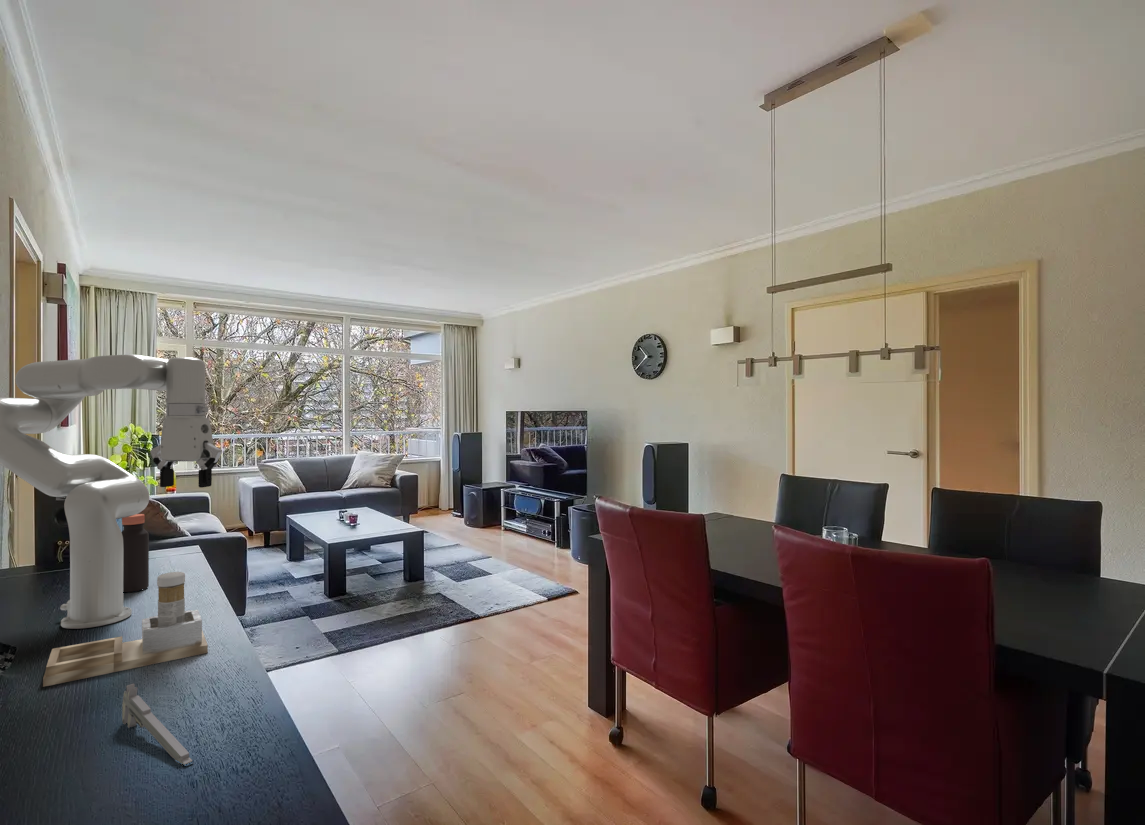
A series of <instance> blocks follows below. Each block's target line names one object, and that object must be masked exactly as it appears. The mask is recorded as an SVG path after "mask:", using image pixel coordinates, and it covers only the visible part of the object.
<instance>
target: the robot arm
mask: <svg viewBox="0 0 1145 825" xmlns="http://www.w3.org/2000/svg"><path fill="white" fill-rule="evenodd" d="M14 381H15V384H16V386H17V388H18V390H20V391H21V392H22V393H23V394H25V395H27V396H28V397H32V398H22V397H0V465H1V466H2V467H4V468H6V469H7V470H9V471H10V472H11V473H13V474H14V475H16V476H17V477H19V478H20V479H22V480H23V481H24V482H26V483H28V484H29V485H30V486H32V487H34V488H35V489H37V490H38V491H39V492H41V493H43V494H45V495H47V496H49V497H56V498H60V497H61V498H62V497H65V500H64V506H63V507H64V514H65V518H66V522H67V526H68V533H69V562H70V563H69V599H68V600H67V601H66V603H63V604H61V605H60V606H59V607H60V610H61V611H67V616H65V617H63V618H62V619H61V620H60V627H61V628H63V629H71V630H73V629H75V630H78V629H89V628H90V629H91V628H95V627H96V628H97V627H102V626H106V625H111V624H115V623H117V622H121V621H123V620H125V619H127V618H129V617H130V616H131V615H132V611H133V610H132V608H131V607H128V606H124V593H123V549H124V548H123V536H122V530H121V527H120V526H119V525H118V522H117V520H118V519H122V518H125V517H129V516H133V515H136V514H141V512H142V511H144V510H145V509H146V508H147V506H148V504H149V502H150V492H149V489H148V487H147V486H146V484H145V483H144V482H143V481H141V480H140V479H139V478H138V477H136V475H135V476H134V475H133V474H132V473H130V472H128V471H127V470H125V469H124V468H123V467H121V466H120V465H118V464H116V463H115V462H113V461H111V460H110V459H108V458H107V457H104V456H101V455H98V454H93V453H91V454H90V453H86V454H85V453H84V454H83V453H81V454H66V453H63V452H60V451H58V450H57V449H55V448H53V447H51V446H50V445H49V444H47V443H46V442H44V441H42V440H41V439H38V438H35V437H33V436H31V435H34V434H35V435H36V434H45V433H47V432H50V431H52V430H53V429H55V428H56V427H58V426H59V425H60V424H61V423H62V422H63V421H64V420H65V419H66V418H67V417H68V416H69V415H70V414H71V412H73V411H74V410H75V409H76V407H78V406H79V404H80V403H81V402H83V400H84V399H85V398H86V397H94V396H98V395H101V394H102V393H103V392H104V391H107V390H121V389H123V390H126V389H127V390H129V389H130V390H149V391H162V392H163V391H165V392H166V394H165V395H166V396H165V398H166V399H165V400H166V404H165V410H166V411H165V413H166V414H165V417H164V419H163V423H162V428H161V435H160V436H161V437H160V444H158V445H157V446H156V447H154V448H152V449H151V450H150V451H149V452H150V456H151V457H152V459H153V460H152V461H153V463H154V464H155V465H156V469H157V470H159V487H160V488H168V487H173V486H174V485H175V481H174V480H175V478H174V477H175V476H174V475H175V469H174V468H172V467H173V465H175V463H176V462H196V464H197V465H198V467H199V468H200V469H198V488H203V489H204V488H208V487H209V488H210V487H212V480H213V477H212V476H213V473H212V472H213V471H212V470H213V469H215V466H216V465H217V464H218V463H219V461H220V458H221V455H222V454H223V450H222V449H220V448H219V447H218V446H215V445H214V441H213V432H212V426H211V423H210V422H211V421H210V419H209V417H206V413H208V412H209V409H210V408H209V406H206V364H205V362H204V360H202V359H201V358H195V357H182V356H180V357H179V356H178V357H171V358H169V359H166V358H160V357H153V356H148V355H141V354H111V355H110V354H109V355H98V356H92V357H89V358H82V359H81V358H80V359H65V360H64V359H63V360H49V361H48V360H44V361H35V362H31V363H29V364H25V365H23V366H22V367H21V368H20V369H18V370H17V372H16V374H15V379H14Z"/></svg>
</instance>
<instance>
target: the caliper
mask: <svg viewBox="0 0 1145 825" xmlns="http://www.w3.org/2000/svg"><path fill="white" fill-rule="evenodd" d="M135 685H136V684H135V683H131V684H128V685H127V684H126V687H125V690H124V691H123V697H122V705H121V707H122V709H121V711H122V712H121V717H122V719H121V721H122V725H123V724H124V725H127V726H126V728H127V727H128V728H127V729H131V728H134V727H137V725H138V726H139V728H140V729H143V728H145V729H146V730H147V731H148V732H149V733H150V734H151V736H152V737H153V738H154V739H155V740H156V741H157V742H158V743H159V745H160V746H161V747H162V748H163V749H164V751H166V753H167V754H168V755H169V756H170V757H171V758H172V759H173V758H174V759H175V760H177V761H179V762H180V763H182V764H184V765H185V764H188V763H190V762H192V761H193V759H192V758H191V757H190V752H189V751H188V750H187V748H185V747H184V746H183V745H182V743H181V742H180V741H179V740H178V739H177V738H176V737H175V736H174V735H173V733H171V731H169V730H168V728H166V726H164V724H163V723H162V722H161V721H160V720H159V719H158V717H156V715H155V714H154V713H153V712H152V709H151V707H150V706H149V705H148V704H147V703H146V702H145V701H144V699H143V698H142V697H141V696H140V695H138V686H137V687H135ZM126 723H127V724H126ZM130 727H131V728H130ZM174 759H173V760H174ZM175 760H174V761H175ZM182 764H181V765H182Z"/></svg>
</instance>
